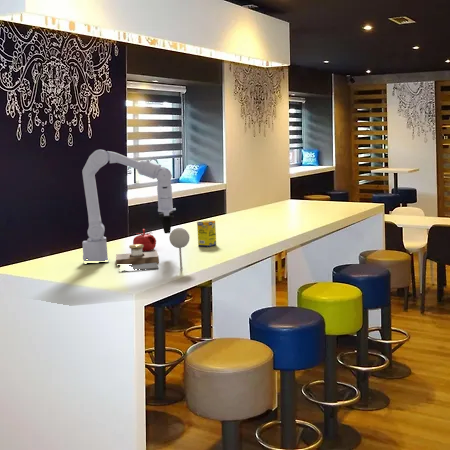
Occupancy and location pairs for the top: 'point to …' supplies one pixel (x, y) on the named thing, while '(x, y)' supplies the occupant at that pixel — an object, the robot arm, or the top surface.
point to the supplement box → (206, 233)
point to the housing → (137, 258)
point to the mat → (144, 266)
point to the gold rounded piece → (136, 250)
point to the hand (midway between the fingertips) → (167, 231)
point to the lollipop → (179, 240)
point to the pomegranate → (145, 241)
